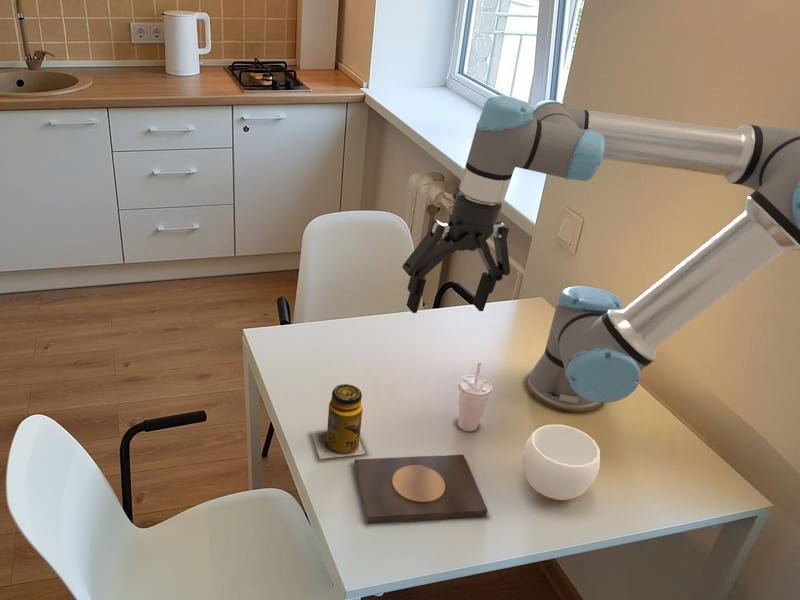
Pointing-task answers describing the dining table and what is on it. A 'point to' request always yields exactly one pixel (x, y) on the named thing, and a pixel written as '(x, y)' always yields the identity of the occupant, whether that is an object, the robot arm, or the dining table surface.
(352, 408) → the condiment
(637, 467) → the dining table surface
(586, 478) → the cup
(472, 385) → the smoothie
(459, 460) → the board
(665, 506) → the dining table surface
